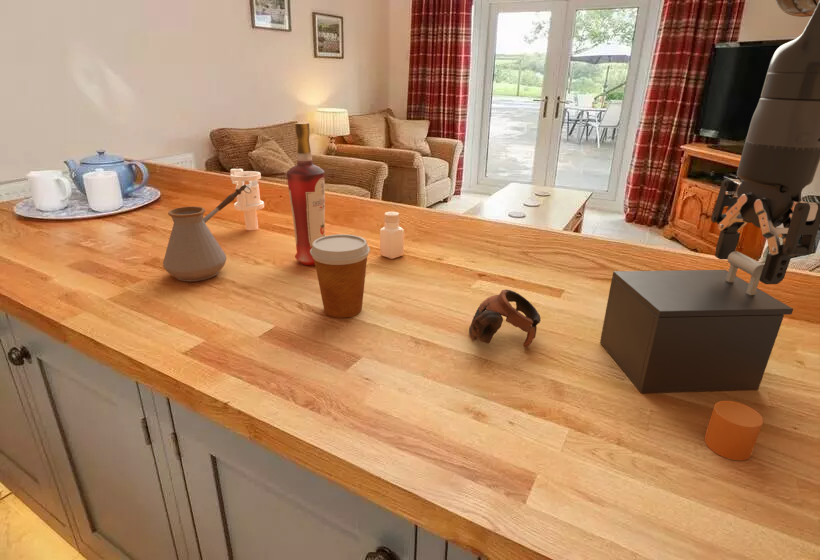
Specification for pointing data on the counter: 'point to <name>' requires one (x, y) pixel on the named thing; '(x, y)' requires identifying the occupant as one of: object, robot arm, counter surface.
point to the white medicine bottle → (391, 236)
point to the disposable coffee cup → (341, 272)
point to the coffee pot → (194, 243)
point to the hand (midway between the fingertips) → (744, 269)
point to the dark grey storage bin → (686, 347)
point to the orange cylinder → (733, 430)
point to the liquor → (306, 197)
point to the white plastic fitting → (248, 196)
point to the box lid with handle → (703, 291)
